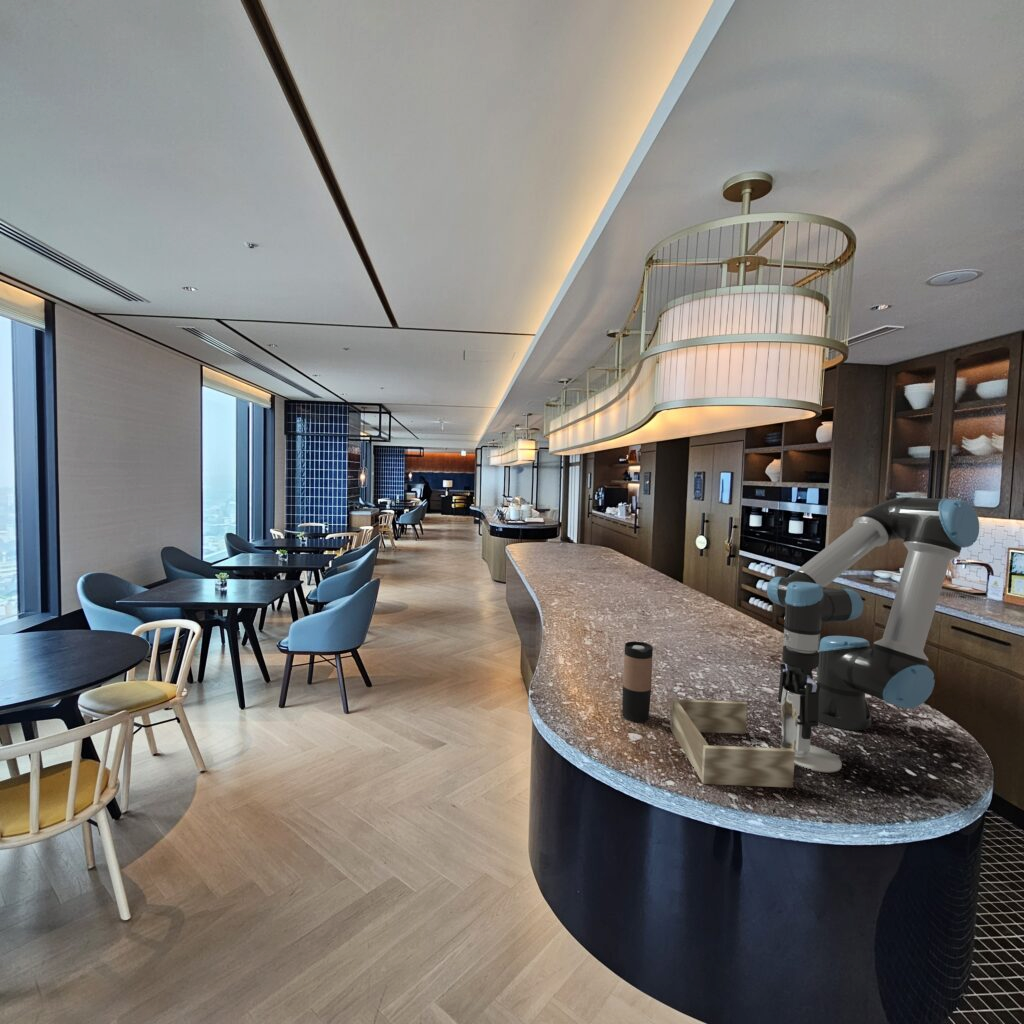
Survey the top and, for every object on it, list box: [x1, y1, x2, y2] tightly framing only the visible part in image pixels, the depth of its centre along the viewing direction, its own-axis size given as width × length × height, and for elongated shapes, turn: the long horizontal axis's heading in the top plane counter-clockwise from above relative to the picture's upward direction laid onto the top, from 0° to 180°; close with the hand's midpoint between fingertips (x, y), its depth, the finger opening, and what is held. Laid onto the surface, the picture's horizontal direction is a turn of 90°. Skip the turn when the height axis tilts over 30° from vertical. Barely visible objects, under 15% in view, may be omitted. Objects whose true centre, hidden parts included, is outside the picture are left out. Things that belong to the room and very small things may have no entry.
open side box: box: [669, 698, 795, 788], centre depth 126 cm, size 19×25×8 cm
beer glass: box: [780, 685, 809, 757], centre depth 125 cm, size 7×7×15 cm
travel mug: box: [621, 641, 654, 723], centre depth 145 cm, size 8×8×20 cm
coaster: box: [794, 744, 843, 774], centre depth 126 cm, size 12×12×1 cm
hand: (795, 742), depth 126 cm, fingers closed on beer glass, 6 cm apart
